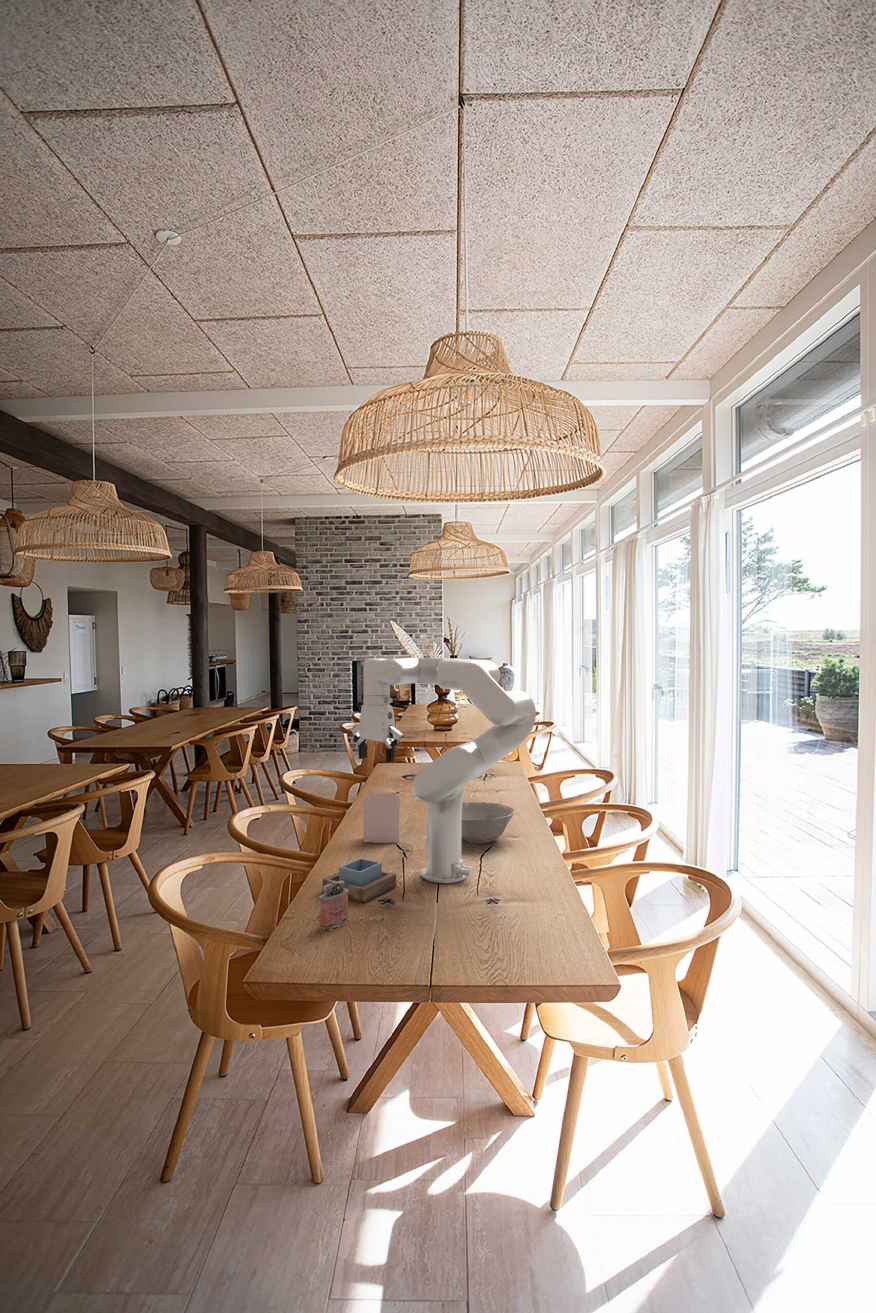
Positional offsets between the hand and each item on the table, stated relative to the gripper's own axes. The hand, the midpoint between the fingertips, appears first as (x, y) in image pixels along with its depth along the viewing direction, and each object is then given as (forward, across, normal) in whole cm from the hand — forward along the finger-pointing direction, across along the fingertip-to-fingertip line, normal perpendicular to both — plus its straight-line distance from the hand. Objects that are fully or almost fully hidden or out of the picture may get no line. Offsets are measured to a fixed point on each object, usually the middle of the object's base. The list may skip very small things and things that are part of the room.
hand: (376, 760), depth 207 cm
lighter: (+31, -18, +40) cm, 53 cm away
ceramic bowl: (+31, -14, -37) cm, 50 cm away
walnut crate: (+30, -9, +19) cm, 37 cm away
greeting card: (+31, +12, -18) cm, 37 cm away
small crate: (+30, -9, +19) cm, 36 cm away
